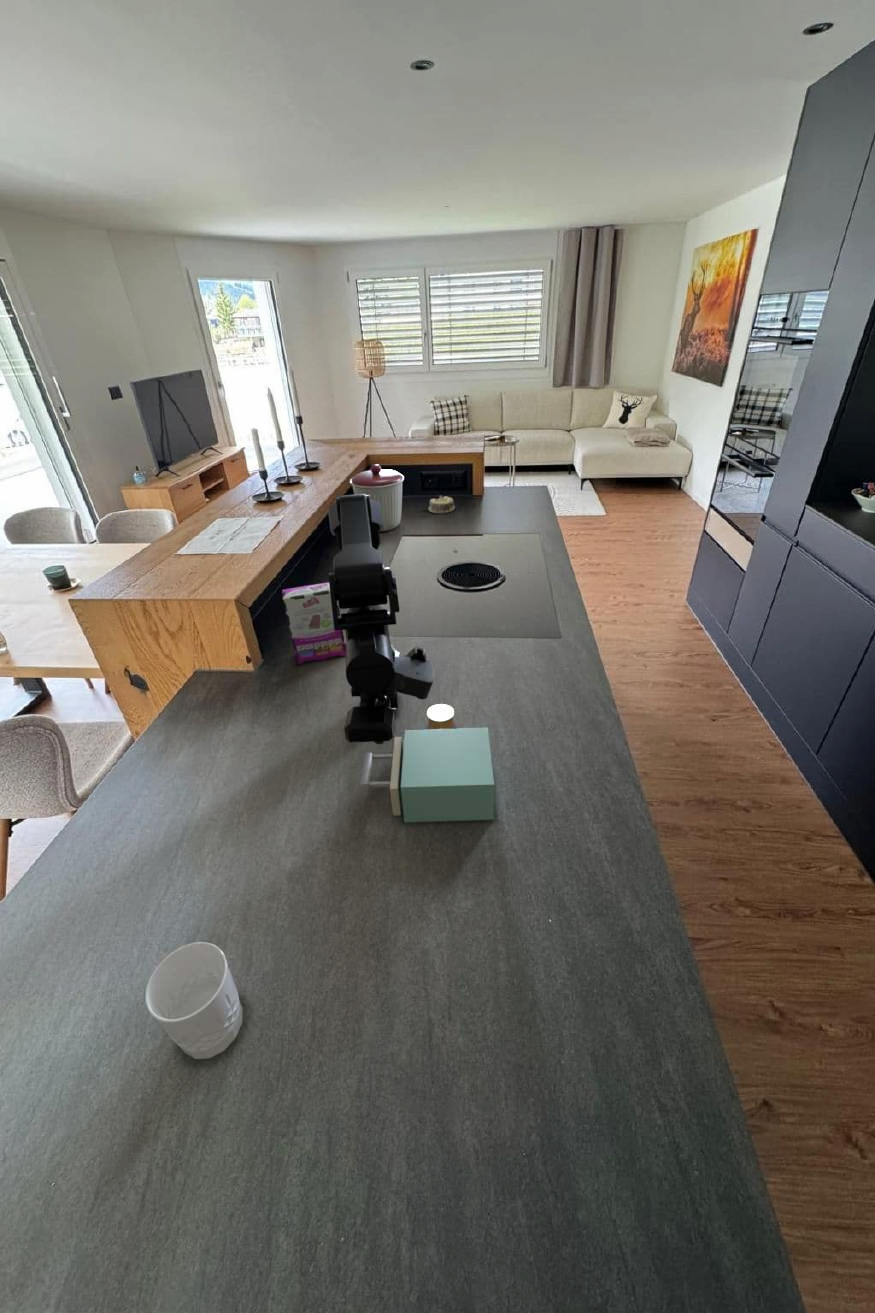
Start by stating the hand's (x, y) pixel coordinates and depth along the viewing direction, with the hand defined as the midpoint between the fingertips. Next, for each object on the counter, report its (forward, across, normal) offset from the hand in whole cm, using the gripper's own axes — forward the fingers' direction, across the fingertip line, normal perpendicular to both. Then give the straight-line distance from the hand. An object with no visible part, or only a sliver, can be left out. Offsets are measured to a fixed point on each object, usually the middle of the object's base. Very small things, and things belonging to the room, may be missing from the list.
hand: (380, 736), depth 83 cm
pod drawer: (+11, 0, -5) cm, 12 cm away
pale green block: (+12, 0, -10) cm, 15 cm away
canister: (+12, +123, +11) cm, 124 cm away
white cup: (+12, -34, +17) cm, 40 cm away
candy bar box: (+12, +42, +18) cm, 47 cm away
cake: (+12, +139, -10) cm, 140 cm away
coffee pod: (+12, +15, -9) cm, 21 cm away
